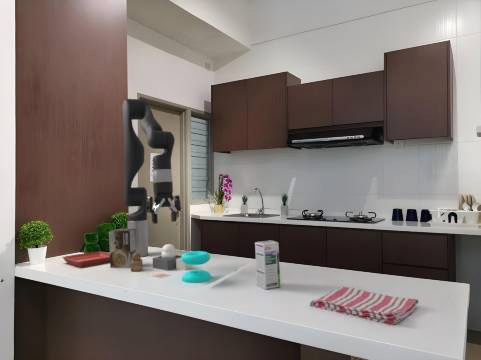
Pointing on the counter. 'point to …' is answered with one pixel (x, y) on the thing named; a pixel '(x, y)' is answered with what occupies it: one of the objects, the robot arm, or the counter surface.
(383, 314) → the dish towel
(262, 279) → the syrup box
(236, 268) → the counter surface
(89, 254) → the plant saucer
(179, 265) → the die
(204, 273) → the donuts
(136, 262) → the pawn
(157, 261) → the board
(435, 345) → the counter surface
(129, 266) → the coffee box
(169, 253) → the dome
